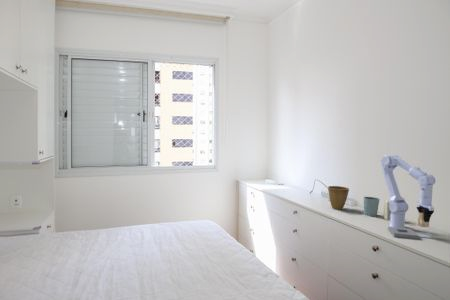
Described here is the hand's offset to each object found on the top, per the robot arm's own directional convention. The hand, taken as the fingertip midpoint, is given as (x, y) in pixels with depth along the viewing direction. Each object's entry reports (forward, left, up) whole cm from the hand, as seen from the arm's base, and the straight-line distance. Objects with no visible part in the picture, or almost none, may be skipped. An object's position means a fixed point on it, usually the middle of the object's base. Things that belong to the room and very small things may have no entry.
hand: (424, 220), depth 178 cm
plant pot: (-54, -41, -8) cm, 68 cm away
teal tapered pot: (-42, -20, -8) cm, 47 cm away
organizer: (+2, -11, -8) cm, 14 cm away
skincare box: (-33, -10, -8) cm, 36 cm away
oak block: (0, 0, -3) cm, 3 cm away
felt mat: (0, 0, -8) cm, 8 cm away
